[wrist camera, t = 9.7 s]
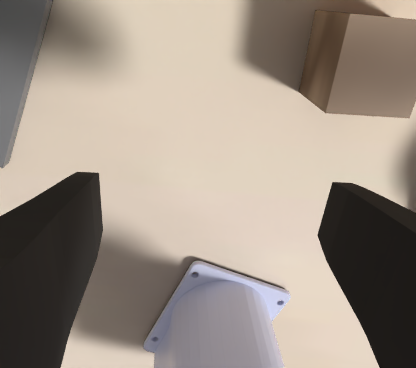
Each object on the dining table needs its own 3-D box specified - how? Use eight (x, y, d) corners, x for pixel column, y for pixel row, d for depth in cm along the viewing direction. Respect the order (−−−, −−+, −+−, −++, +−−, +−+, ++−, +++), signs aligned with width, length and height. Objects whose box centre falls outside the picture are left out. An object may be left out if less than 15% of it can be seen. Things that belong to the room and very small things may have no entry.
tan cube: (367, 96, 19) (409, 118, 16) (298, 91, 19) (325, 113, 15) (390, 17, 18) (444, 22, 14) (314, 9, 17) (350, 13, 14)
